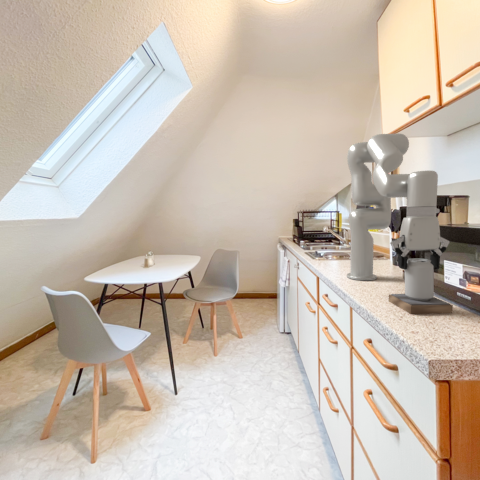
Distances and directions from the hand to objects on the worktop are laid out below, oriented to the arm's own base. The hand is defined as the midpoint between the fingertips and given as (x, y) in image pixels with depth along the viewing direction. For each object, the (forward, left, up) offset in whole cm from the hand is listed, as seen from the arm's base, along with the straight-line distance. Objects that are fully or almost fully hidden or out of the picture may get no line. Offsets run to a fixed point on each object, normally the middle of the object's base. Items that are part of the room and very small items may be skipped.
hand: (418, 268), depth 85 cm
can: (0, 0, -9) cm, 9 cm away
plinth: (0, 0, -13) cm, 13 cm away
